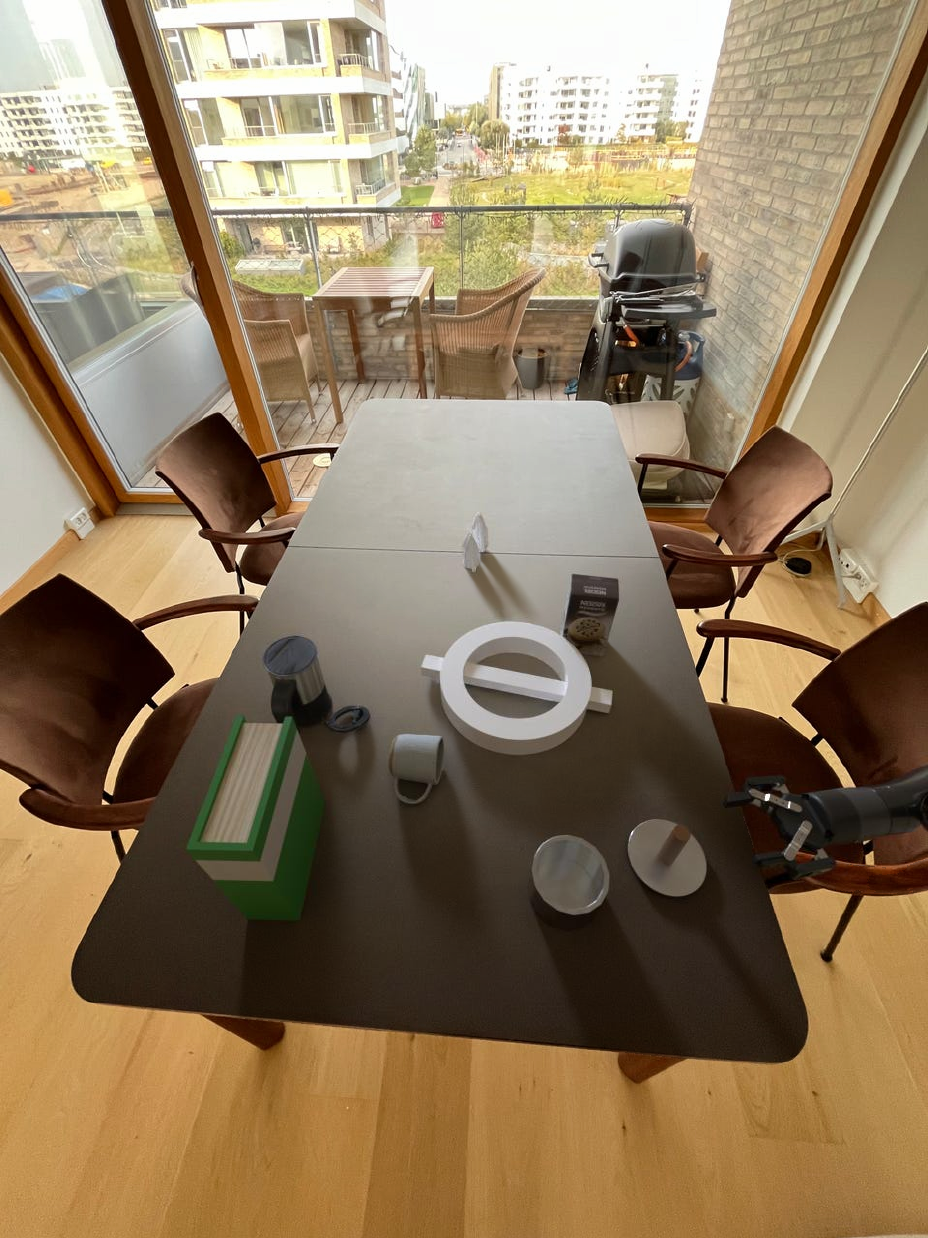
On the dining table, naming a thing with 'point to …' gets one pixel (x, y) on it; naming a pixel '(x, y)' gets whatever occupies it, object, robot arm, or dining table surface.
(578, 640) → the coffee box
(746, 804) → the robot arm
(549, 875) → the bowl
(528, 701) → the dining table surface
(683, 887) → the bowl lid
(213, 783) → the hardback book
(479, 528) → the shaker set
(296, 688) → the milk frother
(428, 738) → the ceramic mug
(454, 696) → the ring with crossbar
